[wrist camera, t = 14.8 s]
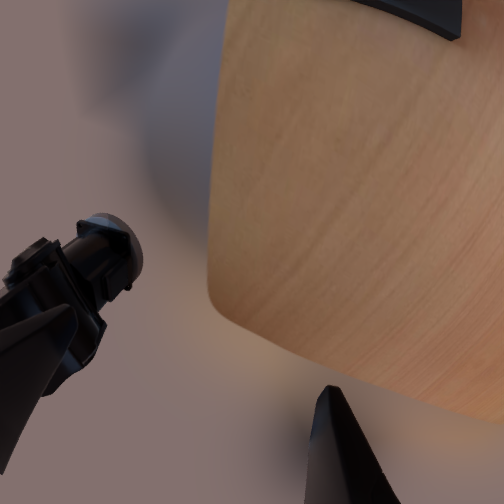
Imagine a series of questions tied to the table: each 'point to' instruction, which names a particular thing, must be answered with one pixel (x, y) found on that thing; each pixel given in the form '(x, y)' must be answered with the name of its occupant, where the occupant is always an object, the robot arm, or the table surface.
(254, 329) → the table surface
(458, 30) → the dark gray rectangular slab
